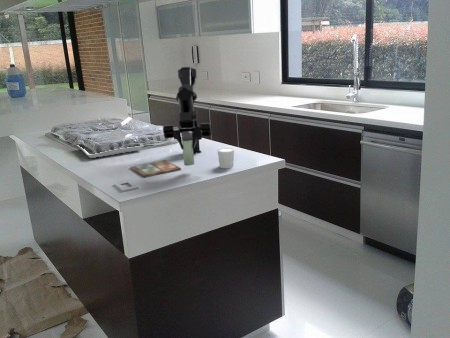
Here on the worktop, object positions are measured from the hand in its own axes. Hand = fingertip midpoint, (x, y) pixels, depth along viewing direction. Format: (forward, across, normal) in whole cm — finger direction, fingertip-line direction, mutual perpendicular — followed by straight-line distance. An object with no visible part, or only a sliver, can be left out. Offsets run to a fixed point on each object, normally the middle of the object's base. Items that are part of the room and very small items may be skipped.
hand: (187, 148), depth 167 cm
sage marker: (+4, 0, +6) cm, 7 cm away
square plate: (-26, -42, +42) cm, 65 cm away
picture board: (+1, -15, +14) cm, 20 cm away
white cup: (+2, +15, +13) cm, 20 cm away
